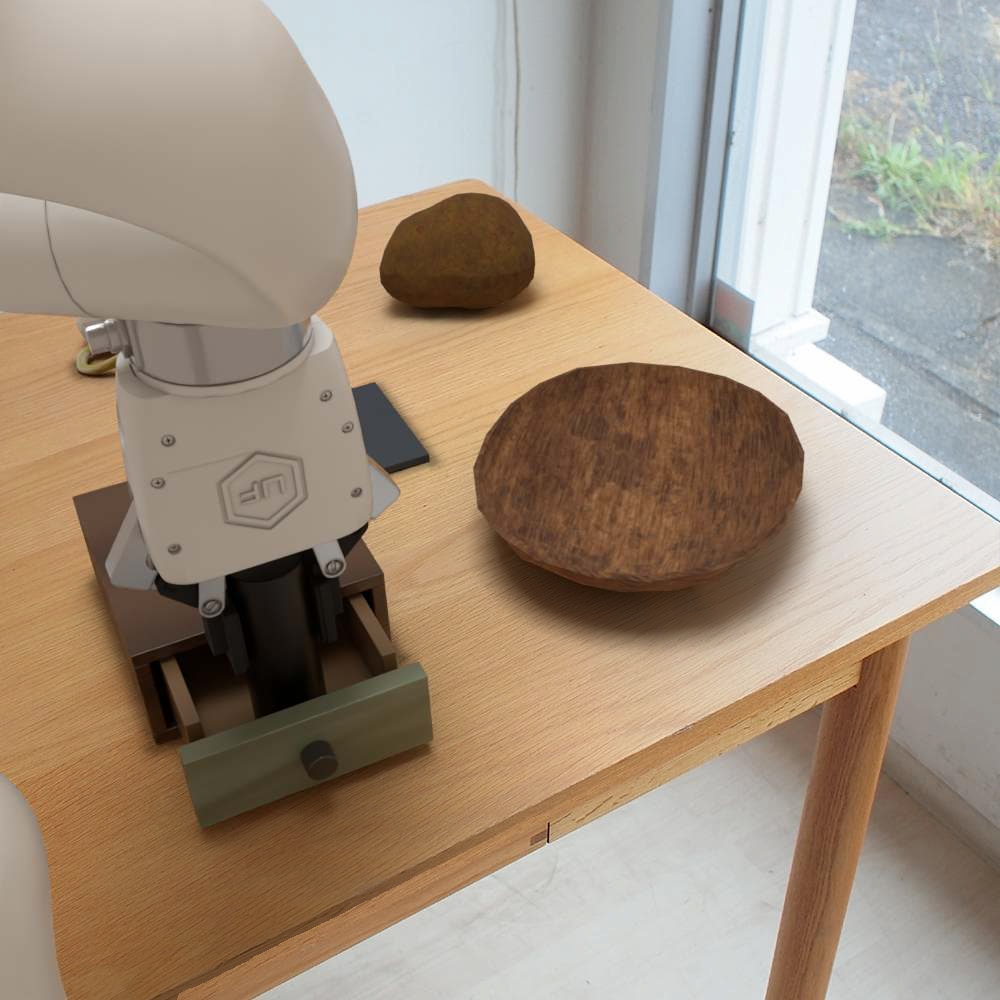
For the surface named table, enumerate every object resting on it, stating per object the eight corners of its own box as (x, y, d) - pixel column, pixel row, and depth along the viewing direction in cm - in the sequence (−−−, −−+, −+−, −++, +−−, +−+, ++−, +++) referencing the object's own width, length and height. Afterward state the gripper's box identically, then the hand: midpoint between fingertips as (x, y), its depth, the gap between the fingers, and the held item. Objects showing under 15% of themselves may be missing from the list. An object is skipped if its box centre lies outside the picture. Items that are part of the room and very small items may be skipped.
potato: (395, 271, 110) (386, 172, 104) (538, 271, 109) (537, 172, 103) (382, 323, 103) (371, 221, 98) (534, 324, 102) (532, 221, 97)
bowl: (427, 605, 78) (422, 540, 75) (539, 402, 94) (538, 342, 91) (761, 676, 72) (770, 609, 69) (819, 448, 89) (828, 385, 86)
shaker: (269, 753, 67) (234, 592, 60) (246, 704, 69) (211, 544, 62) (339, 727, 68) (314, 566, 61) (315, 679, 71) (288, 520, 64)
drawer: (443, 756, 68) (437, 691, 65) (207, 847, 64) (190, 782, 61) (343, 585, 78) (334, 522, 75) (135, 654, 74) (117, 590, 71)
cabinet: (394, 660, 74) (384, 572, 70) (156, 745, 70) (130, 657, 66) (308, 515, 85) (295, 431, 81) (97, 581, 80) (71, 496, 76)
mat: (288, 504, 86) (287, 497, 85) (243, 425, 93) (242, 418, 92) (430, 461, 89) (429, 453, 89) (375, 388, 96) (375, 381, 96)
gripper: (25, 420, 48) (128, 751, 60) (441, 308, 54) (463, 632, 65) (-7, 326, 54) (93, 647, 65) (374, 233, 59) (405, 545, 71)
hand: (278, 637), depth 65 cm, fingers closed on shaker, 3 cm apart
